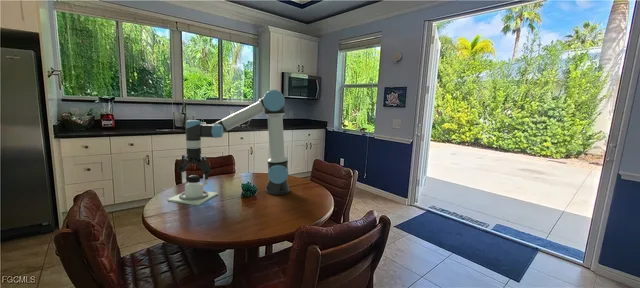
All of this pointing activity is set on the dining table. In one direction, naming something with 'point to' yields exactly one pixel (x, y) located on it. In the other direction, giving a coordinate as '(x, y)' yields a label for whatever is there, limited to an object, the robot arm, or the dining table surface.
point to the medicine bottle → (194, 187)
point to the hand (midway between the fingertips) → (194, 183)
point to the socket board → (195, 201)
